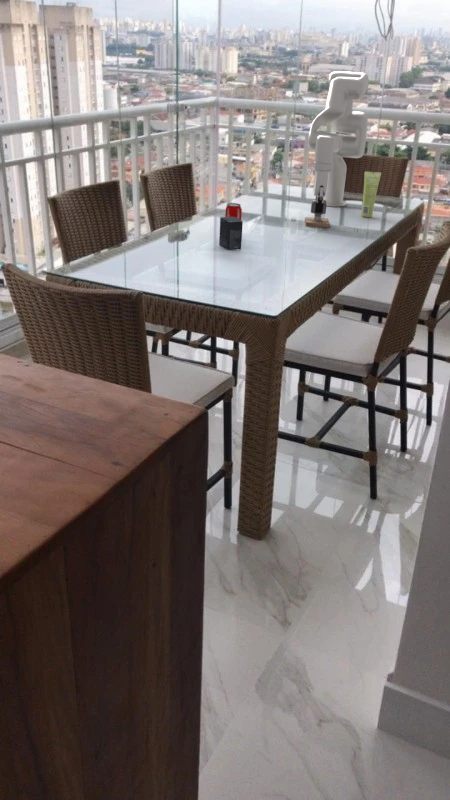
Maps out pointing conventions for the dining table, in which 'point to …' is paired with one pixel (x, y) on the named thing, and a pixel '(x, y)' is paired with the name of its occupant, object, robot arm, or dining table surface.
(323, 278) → the dining table surface
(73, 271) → the dining table surface
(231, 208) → the soda can
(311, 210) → the cap
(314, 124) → the robot arm
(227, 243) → the box
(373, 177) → the tube
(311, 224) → the stud block
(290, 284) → the dining table surface
